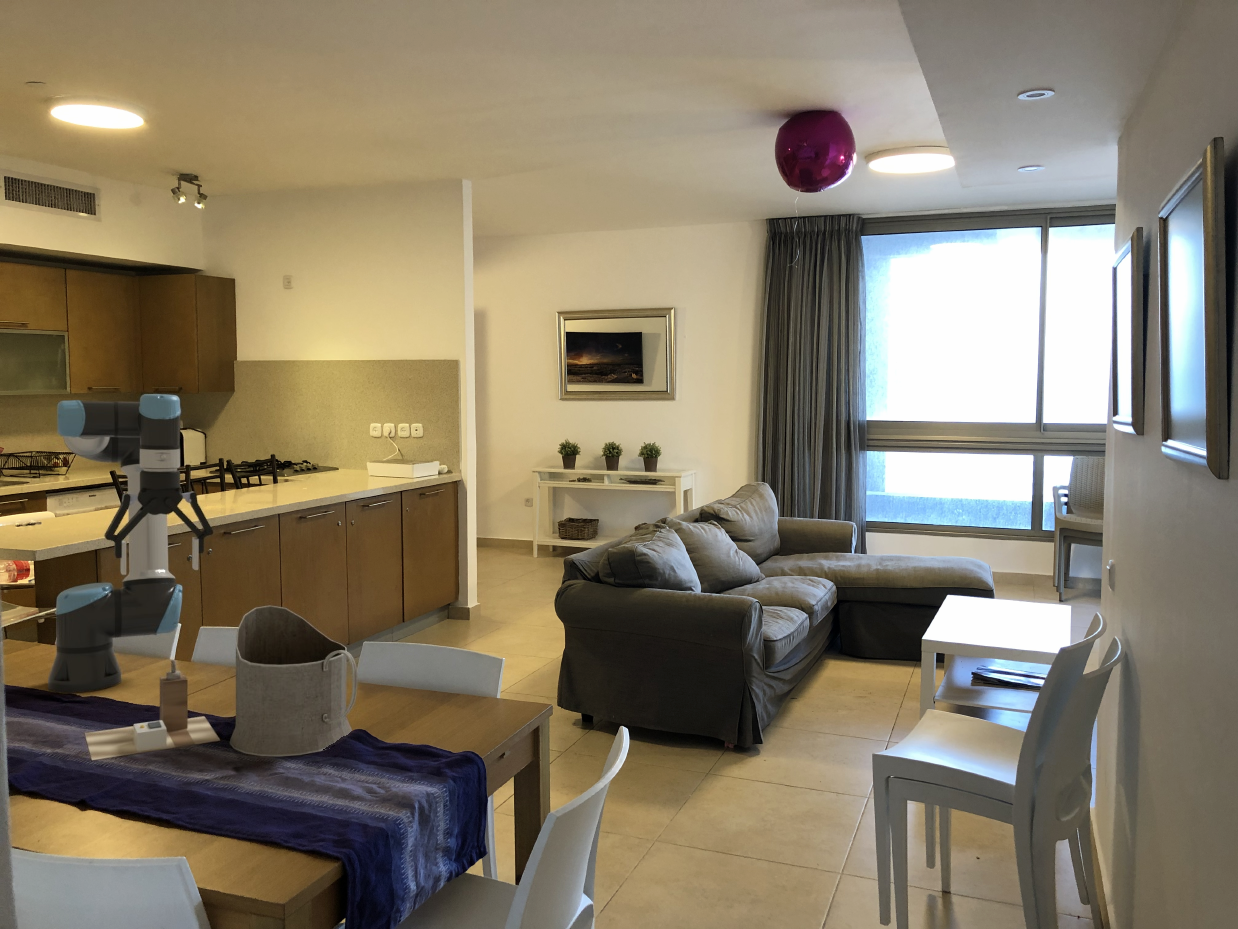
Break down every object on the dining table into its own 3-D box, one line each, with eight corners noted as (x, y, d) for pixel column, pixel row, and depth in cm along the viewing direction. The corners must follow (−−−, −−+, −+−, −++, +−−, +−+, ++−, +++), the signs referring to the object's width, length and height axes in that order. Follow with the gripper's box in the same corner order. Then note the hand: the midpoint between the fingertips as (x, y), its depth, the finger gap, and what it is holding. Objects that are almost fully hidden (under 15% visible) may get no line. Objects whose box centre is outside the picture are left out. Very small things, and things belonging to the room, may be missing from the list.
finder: (133, 742, 186) (133, 721, 186) (162, 737, 188) (162, 717, 188) (137, 751, 181) (137, 730, 181) (166, 747, 183) (166, 726, 183)
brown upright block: (159, 725, 196) (159, 659, 195) (183, 722, 198) (183, 656, 197) (163, 732, 192) (162, 664, 191) (187, 728, 194) (187, 661, 194)
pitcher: (306, 711, 211) (307, 598, 210) (402, 743, 192) (403, 619, 191) (206, 738, 192) (206, 614, 191) (302, 776, 173) (302, 639, 172)
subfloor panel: (84, 739, 190) (84, 733, 190) (204, 722, 202) (204, 716, 202) (91, 766, 176) (91, 760, 176) (220, 746, 188) (220, 740, 188)
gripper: (93, 472, 188) (93, 579, 190) (228, 470, 202) (227, 570, 204) (89, 468, 195) (90, 572, 196) (220, 466, 208) (220, 563, 210)
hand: (160, 571), depth 200 cm, fingers open, 13 cm apart
